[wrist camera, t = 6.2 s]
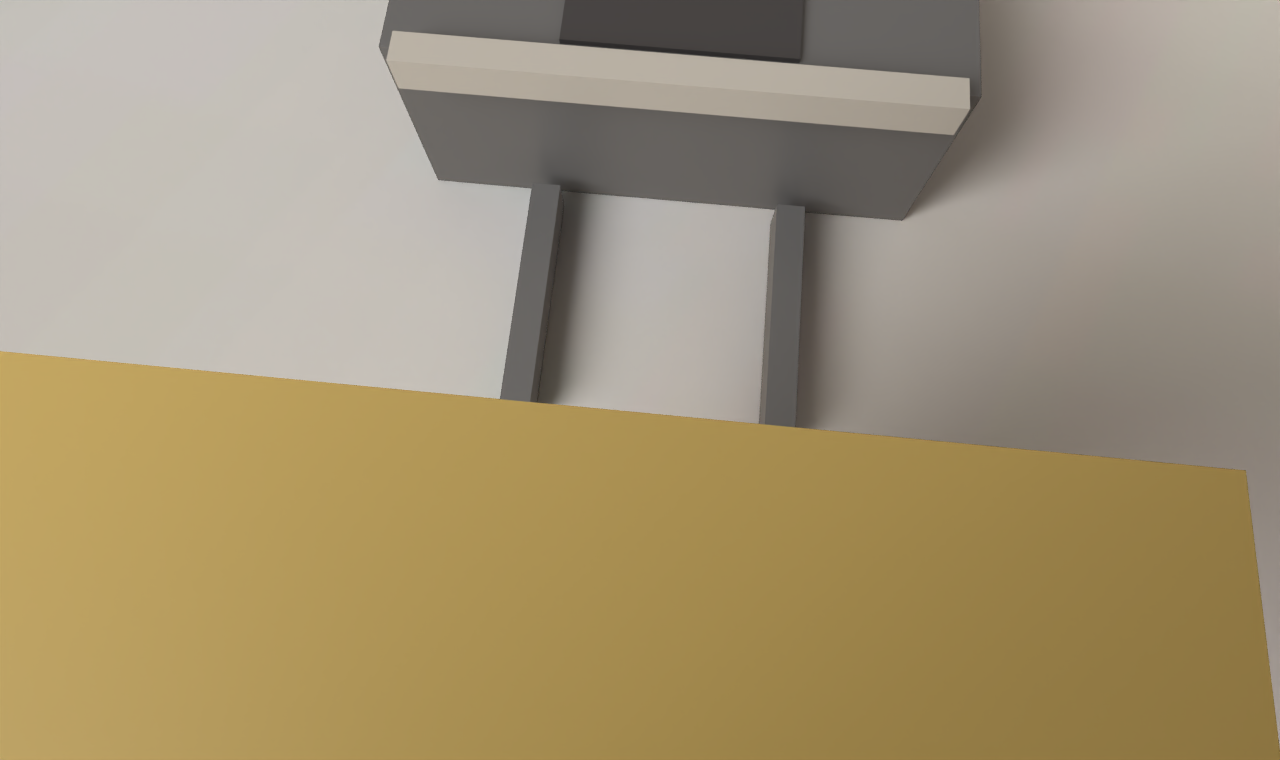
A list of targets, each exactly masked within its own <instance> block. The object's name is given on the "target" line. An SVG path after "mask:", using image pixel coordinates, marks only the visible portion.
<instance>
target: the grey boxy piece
mask: <svg viewBox="0 0 1280 760" xmlns="http://www.w3.org/2000/svg"><path fill="white" fill-rule="evenodd" d="M379 48H380V51H381V53H382V55H383V57H384V60H385V62H386V64H387V66H388V68H389V71H390V73H391V75H392V77H393V80H394V82H395V84H396V86H397V89H398V91H399V93H400V95H401V98H402V100H403V102H404V104H405V107H406V109H407V111H408V113H409V116H410V118H411V120H412V122H413V125H414V127H415V129H416V131H417V134H418V136H419V138H420V140H421V143H422V145H423V147H424V149H425V151H426V154H427V156H428V158H429V160H430V163H431V165H432V167H433V169H434V172H435V174H436V176H437V178H438V180H444V181H456V182H467V183H479V184H490V185H502V186H513V187H525V188H532V190H531V197H530V204H529V210H528V217H527V224H526V230H525V237H524V243H523V250H522V257H521V263H520V270H519V277H518V283H517V290H516V296H515V303H514V310H513V316H512V323H511V330H510V336H509V343H508V349H507V356H506V363H505V369H504V376H503V383H502V389H501V396H500V399H504V400H514V401H525V402H535V403H537V399H538V391H539V384H540V377H541V369H542V362H543V355H544V348H545V340H546V333H547V326H548V319H549V311H550V304H551V297H552V289H553V282H554V275H555V268H556V260H557V253H558V246H559V238H560V231H561V224H562V217H563V209H564V203H563V198H562V192H561V191H571V192H582V193H593V194H605V195H616V196H628V197H639V198H651V199H662V200H674V201H685V202H697V203H708V204H720V205H731V206H742V207H754V208H765V209H775V212H774V215H773V218H772V221H771V225H770V243H769V260H768V278H767V295H766V313H765V330H764V348H763V365H762V383H761V401H760V418H759V424H765V425H775V426H786V427H795V426H796V403H797V381H798V358H799V335H800V312H801V290H802V267H803V244H804V221H805V212H811V213H823V214H834V215H846V216H857V217H869V218H880V219H891V220H903V218H904V217H905V215H906V213H907V212H908V210H909V209H910V207H911V206H912V204H913V203H914V201H915V199H916V198H917V196H918V195H919V193H920V192H921V190H922V189H923V187H924V185H925V184H926V182H927V181H928V179H929V178H930V176H931V175H932V173H933V171H934V170H935V168H936V167H937V165H938V164H939V162H940V160H941V159H942V157H943V156H944V154H945V153H946V151H947V150H948V148H949V146H950V145H951V143H952V142H953V140H954V139H955V137H956V136H957V134H958V132H959V131H960V129H961V128H962V126H963V125H964V123H965V122H966V120H967V118H968V117H969V115H970V114H971V112H972V111H973V109H974V108H975V106H976V104H977V103H978V101H979V100H980V98H981V60H980V21H979V0H389V3H388V8H387V12H386V17H385V21H384V26H383V30H382V35H381V39H380V43H379Z"/></svg>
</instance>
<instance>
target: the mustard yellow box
mask: <svg viewBox="0 0 1280 760" xmlns="http://www.w3.org/2000/svg"><path fill="white" fill-rule="evenodd" d="M0 760H1280V748H1279V740H1278V732H1277V724H1276V716H1275V707H1274V699H1273V691H1272V683H1271V674H1270V666H1269V658H1268V650H1267V642H1266V633H1265V625H1264V617H1263V609H1262V600H1261V592H1260V584H1259V576H1258V568H1257V559H1256V551H1255V543H1254V535H1253V526H1252V518H1251V510H1250V502H1249V494H1248V485H1247V477H1246V470H1235V469H1225V468H1214V467H1204V466H1193V465H1183V464H1173V463H1162V462H1152V461H1141V460H1131V459H1120V458H1110V457H1099V456H1089V455H1078V454H1068V453H1058V452H1047V451H1037V450H1026V449H1016V448H1005V447H995V446H984V445H974V444H964V443H953V442H943V441H932V440H922V439H911V438H901V437H890V436H880V435H870V434H859V433H849V432H838V431H828V430H817V429H807V428H796V427H786V426H775V425H765V424H755V423H744V422H734V421H723V420H713V419H702V418H692V417H681V416H671V415H661V414H650V413H640V412H629V411H619V410H608V409H598V408H587V407H577V406H566V405H556V404H546V403H535V402H525V401H514V400H504V399H493V398H483V397H472V396H462V395H452V394H441V393H431V392H420V391H410V390H399V389H389V388H378V387H368V386H357V385H347V384H337V383H326V382H316V381H305V380H295V379H284V378H274V377H263V376H253V375H243V374H232V373H222V372H211V371H201V370H190V369H180V368H169V367H159V366H149V365H138V364H128V363H117V362H107V361H96V360H86V359H75V358H65V357H55V356H44V355H34V354H23V353H13V352H2V351H0Z"/></svg>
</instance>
